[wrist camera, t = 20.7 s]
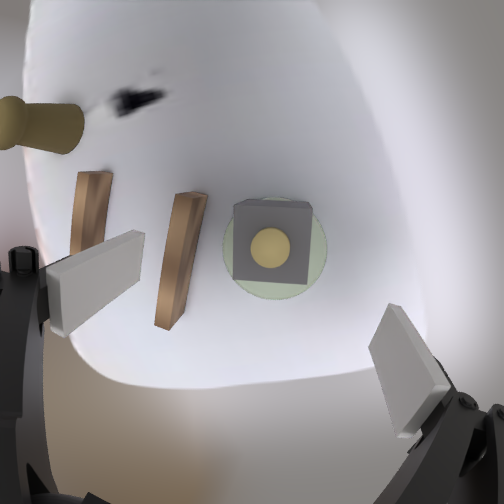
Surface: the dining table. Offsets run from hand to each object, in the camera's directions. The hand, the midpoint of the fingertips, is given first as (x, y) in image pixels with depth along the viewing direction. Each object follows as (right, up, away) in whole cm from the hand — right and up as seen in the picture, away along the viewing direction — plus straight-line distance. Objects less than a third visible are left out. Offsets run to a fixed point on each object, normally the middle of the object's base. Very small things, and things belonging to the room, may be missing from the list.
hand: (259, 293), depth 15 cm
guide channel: (-12, +3, +14) cm, 18 cm away
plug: (+2, +4, +10) cm, 11 cm away
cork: (-21, +16, +12) cm, 29 cm away
